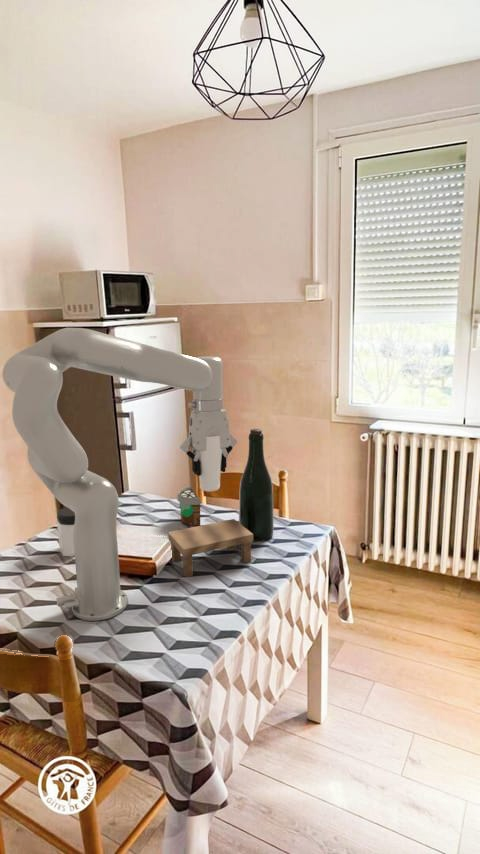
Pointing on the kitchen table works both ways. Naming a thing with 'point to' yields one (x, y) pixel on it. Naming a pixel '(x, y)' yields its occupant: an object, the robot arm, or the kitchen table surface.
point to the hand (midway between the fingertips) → (209, 472)
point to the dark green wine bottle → (256, 491)
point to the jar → (66, 531)
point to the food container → (189, 507)
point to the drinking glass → (210, 464)
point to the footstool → (209, 541)
